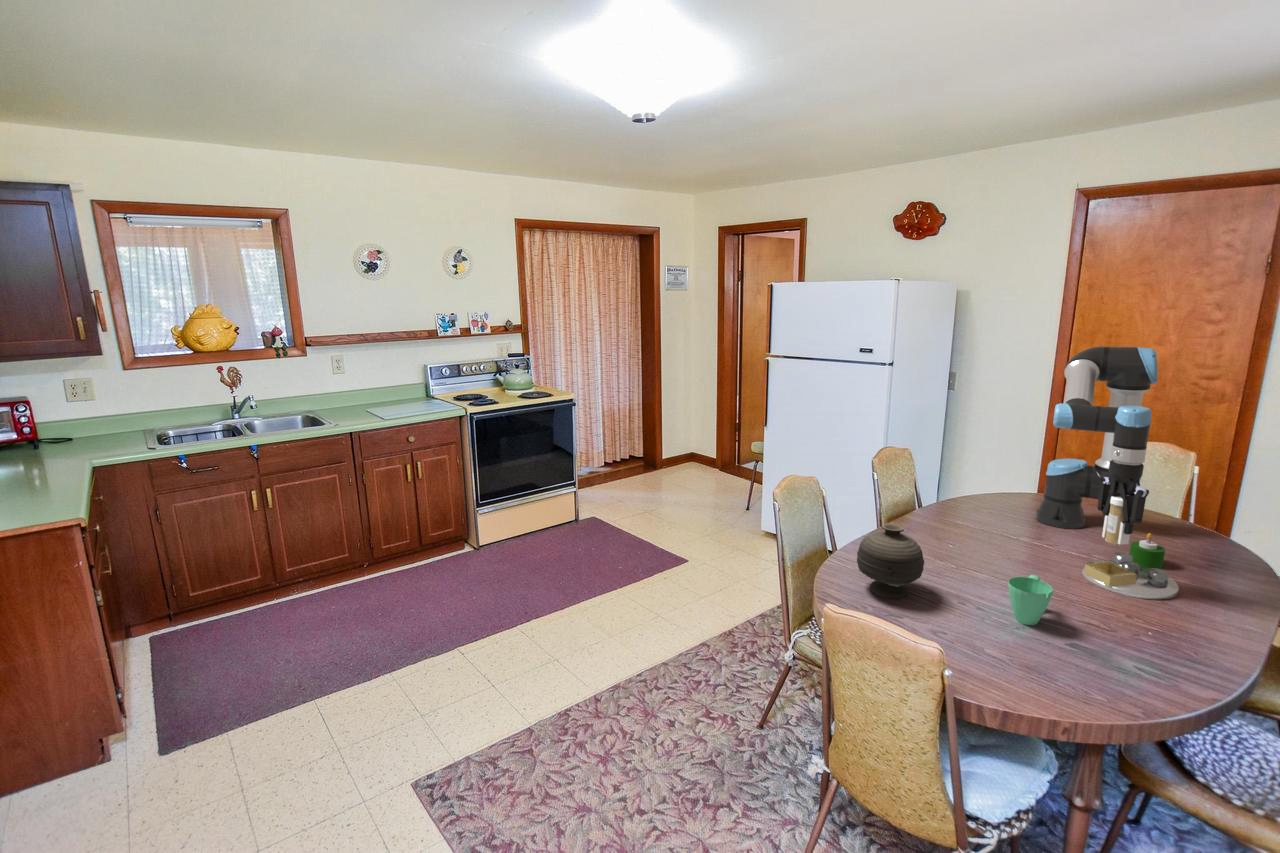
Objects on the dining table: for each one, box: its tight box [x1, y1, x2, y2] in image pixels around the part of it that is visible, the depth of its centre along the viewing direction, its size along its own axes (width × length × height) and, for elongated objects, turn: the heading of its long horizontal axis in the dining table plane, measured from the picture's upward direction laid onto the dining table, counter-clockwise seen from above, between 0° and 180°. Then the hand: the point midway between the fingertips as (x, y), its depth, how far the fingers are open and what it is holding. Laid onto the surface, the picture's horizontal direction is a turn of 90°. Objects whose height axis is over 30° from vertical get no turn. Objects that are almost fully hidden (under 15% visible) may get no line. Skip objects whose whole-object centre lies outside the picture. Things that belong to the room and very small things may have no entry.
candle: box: [1128, 532, 1166, 569], centre depth 191 cm, size 8×8×10 cm
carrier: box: [1081, 551, 1179, 601], centre depth 180 cm, size 22×22×6 cm
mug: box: [1007, 574, 1054, 626], centre depth 162 cm, size 15×10×10 cm
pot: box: [856, 522, 925, 600], centre depth 177 cm, size 18×18×20 cm
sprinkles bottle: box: [1104, 496, 1124, 546], centre depth 176 cm, size 5×5×14 cm
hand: (1115, 540), depth 177 cm, fingers closed on sprinkles bottle, 4 cm apart
